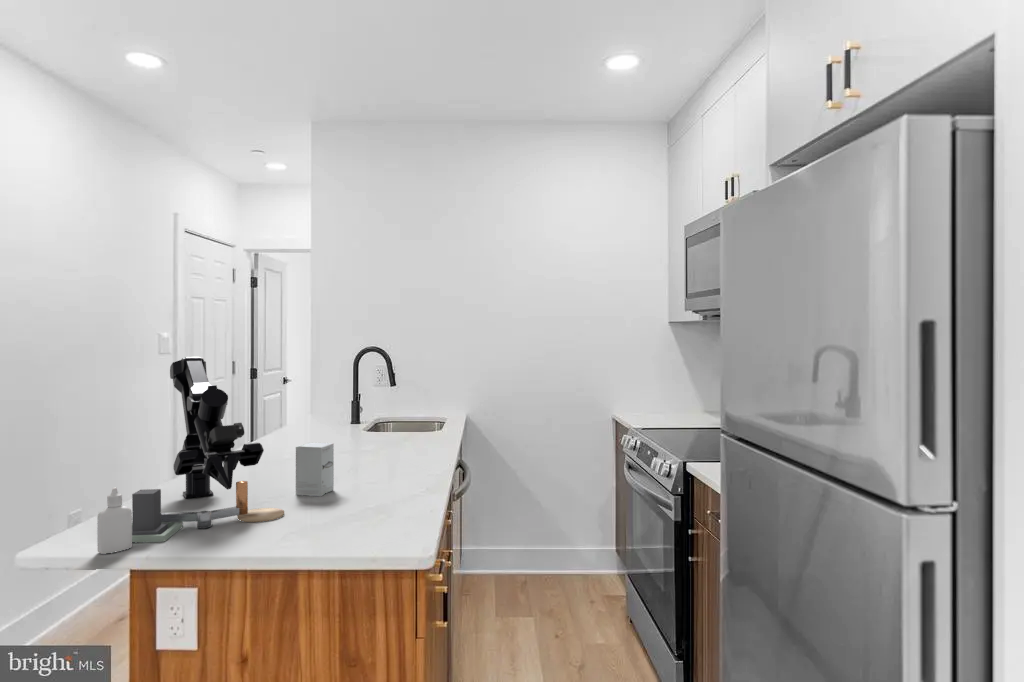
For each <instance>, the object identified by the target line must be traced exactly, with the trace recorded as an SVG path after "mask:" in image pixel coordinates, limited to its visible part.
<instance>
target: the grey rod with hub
mask: <svg viewBox="0 0 1024 682" xmlns="http://www.w3.org/2000/svg"><path fill="white" fill-rule="evenodd" d="M248 483H249V482H248V481H247V480H241V481H237V482H235V506H230V507H225V508H220V509H214V510H202V511H179V512H178V511H175V512H174V511H173V512H172V511H171V512H162V511H161V522H183V523H185V522H194V523H195V522H196V528H198V529H207V528H210V527H212V525H213V524H212V521H213V520H219V519H220V520H221V519H224V518H231V517H237V515H245V514H247V513H248V510H249V508H248V507H249V506H248V505H249V504H248V503H249V496H248V494H249V493H248V490H249V489H248V486H249V485H248Z"/></svg>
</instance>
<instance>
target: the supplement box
mask: <svg viewBox="0 0 1024 682" xmlns="http://www.w3.org/2000/svg"><path fill="white" fill-rule="evenodd" d="M334 444H335V443H332V442H307V443H305V444H301V445H299V446H298V445H297V446H295V496H303V495H309V496H308V497H322V496H323V495H326V494H328V493H329V492H332V490H333V491H334V490H335V489H334V486H335V485H334V479H335V477H334V474H335V473H334V470H335V468H334V465H335V464H334V463H335V462H334V458H335V457H334V455H335V453H334V451H335V450H334V448H335V447H334V446H335V445H334ZM325 493H326V494H325Z"/></svg>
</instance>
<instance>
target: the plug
mask: <svg viewBox="0 0 1024 682" xmlns="http://www.w3.org/2000/svg"><path fill="white" fill-rule="evenodd" d="M161 494H162V489H161V488H151V489H148V488H147V489H139V490H137V491H135V492H133V493H132V496H131V497H132V498H131V499H132V500H131V501H132V503H131V505H132V507H131V511H132V523H133V528H132V535H157V534H162V533H163V532H165V531H166V530H167V529H168V523H162V524H161V512H162V500H161V499H162V495H161Z"/></svg>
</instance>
